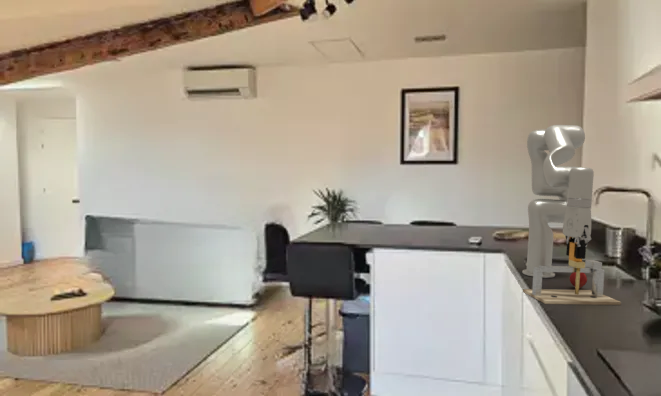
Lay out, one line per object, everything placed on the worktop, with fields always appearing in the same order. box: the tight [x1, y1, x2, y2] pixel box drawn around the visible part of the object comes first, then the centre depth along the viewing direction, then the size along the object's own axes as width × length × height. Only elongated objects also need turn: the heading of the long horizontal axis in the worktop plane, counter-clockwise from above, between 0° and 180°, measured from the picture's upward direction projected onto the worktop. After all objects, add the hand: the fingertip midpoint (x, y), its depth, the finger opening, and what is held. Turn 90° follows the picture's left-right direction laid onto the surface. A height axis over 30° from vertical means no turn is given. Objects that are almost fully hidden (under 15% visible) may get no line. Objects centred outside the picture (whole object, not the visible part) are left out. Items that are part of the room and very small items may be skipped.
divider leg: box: [568, 241, 585, 294], centre depth 178 cm, size 5×3×17 cm, turn 5°
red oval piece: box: [569, 272, 588, 290], centre depth 195 cm, size 6×6×8 cm
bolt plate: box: [522, 288, 622, 306], centre depth 180 cm, size 16×26×1 cm, turn 95°
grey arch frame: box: [531, 259, 606, 297], centre depth 178 cm, size 5×24×12 cm, turn 95°
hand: (575, 256), depth 179 cm, fingers open, 4 cm apart
